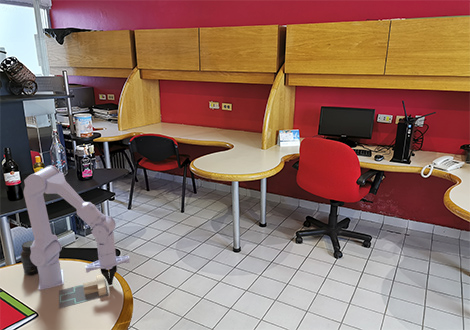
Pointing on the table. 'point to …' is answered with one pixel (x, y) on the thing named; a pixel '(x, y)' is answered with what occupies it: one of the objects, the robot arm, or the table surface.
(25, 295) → the table surface
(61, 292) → the mat
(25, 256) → the supplement bottle
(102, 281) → the t block
